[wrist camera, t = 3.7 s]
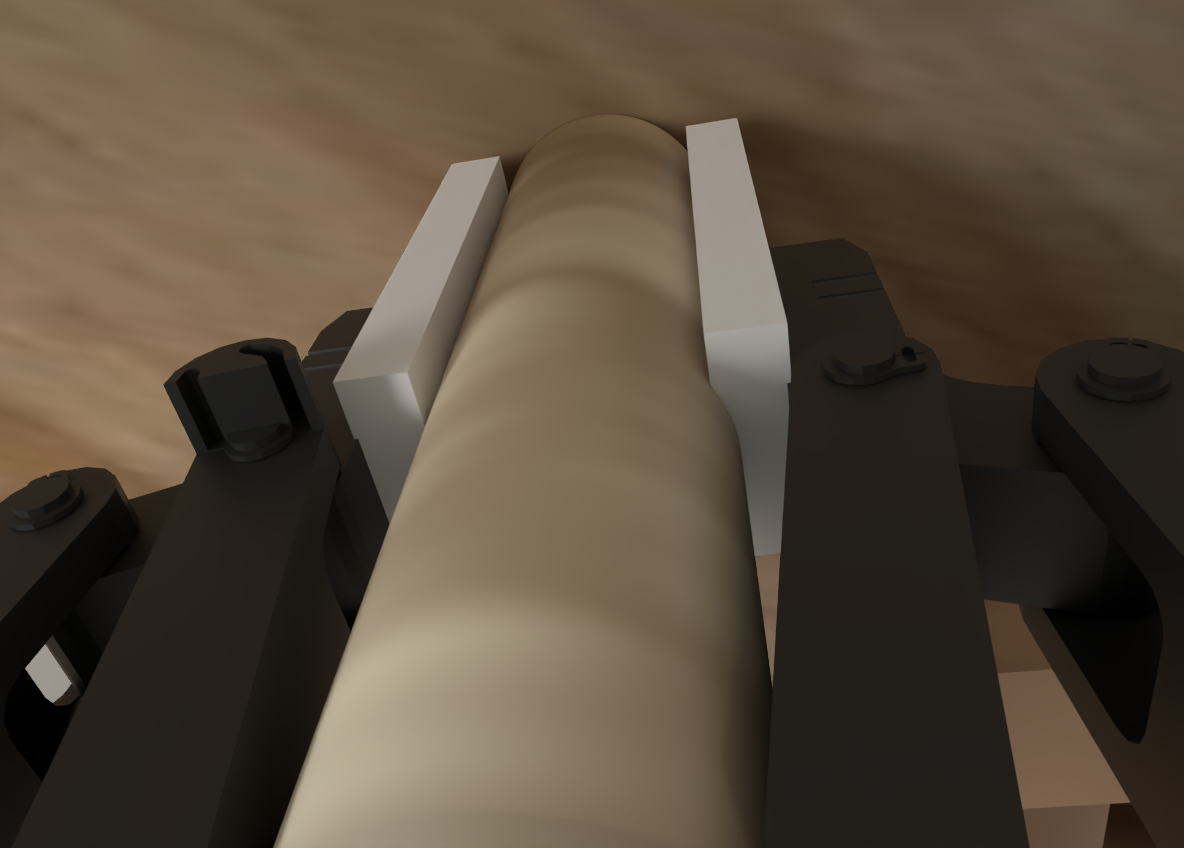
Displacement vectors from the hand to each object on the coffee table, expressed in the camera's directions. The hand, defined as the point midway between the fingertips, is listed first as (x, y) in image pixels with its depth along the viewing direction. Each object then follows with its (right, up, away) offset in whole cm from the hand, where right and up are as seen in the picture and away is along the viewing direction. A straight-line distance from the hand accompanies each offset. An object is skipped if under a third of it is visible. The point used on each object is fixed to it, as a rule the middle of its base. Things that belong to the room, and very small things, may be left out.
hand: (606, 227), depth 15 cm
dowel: (0, 0, 0) cm, 1 cm away
